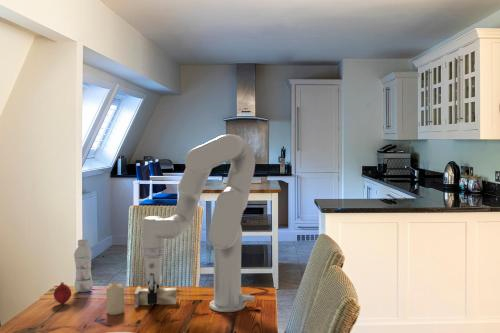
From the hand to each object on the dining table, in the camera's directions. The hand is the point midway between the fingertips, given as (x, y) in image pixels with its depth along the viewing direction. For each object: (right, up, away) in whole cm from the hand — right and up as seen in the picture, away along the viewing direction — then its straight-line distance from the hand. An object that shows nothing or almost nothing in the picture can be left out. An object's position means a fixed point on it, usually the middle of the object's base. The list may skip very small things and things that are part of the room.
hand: (153, 299), depth 173 cm
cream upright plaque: (0, -1, 0) cm, 1 cm away
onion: (-32, -1, -1) cm, 32 cm away
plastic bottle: (-29, -1, +13) cm, 32 cm away
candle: (-11, -2, -9) cm, 14 cm away
